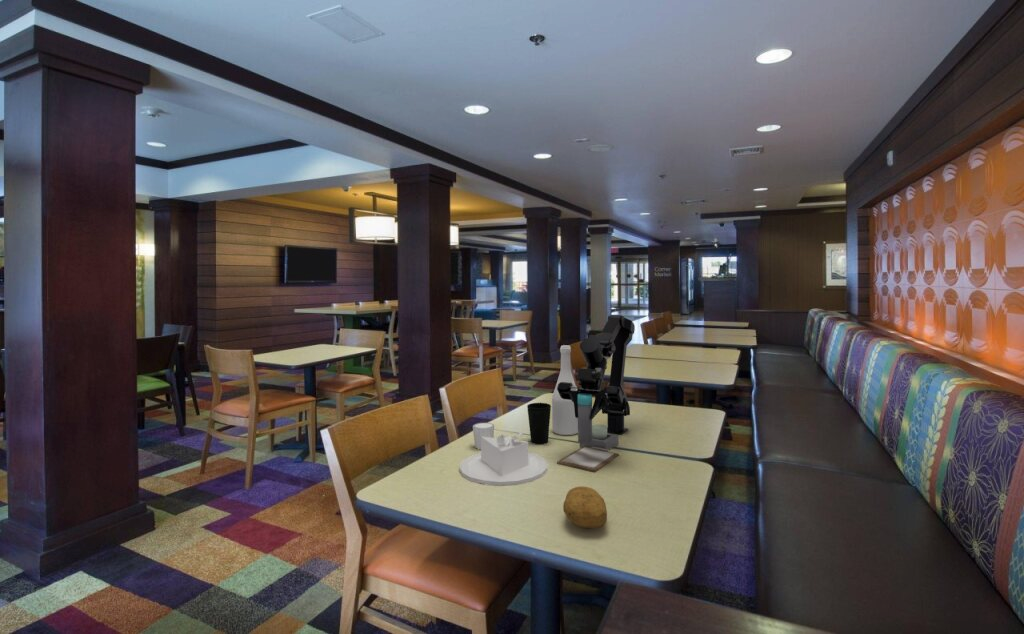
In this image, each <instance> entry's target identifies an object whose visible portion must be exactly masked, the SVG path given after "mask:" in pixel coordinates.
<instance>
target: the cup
mask: <svg viewBox="0 0 1024 634" xmlns="http://www.w3.org/2000/svg"><path fill="white" fill-rule="evenodd" d="M526 407H527V414H528V415H527V417H528V427H529V435H530V443H531V442H532V444H533V443H535V444H534V445H544V443H546V444H547V442H549V434H550V423H551V422H550V419H551V412H552V404H549V403H545V402H532V403H529V404H527V406H526Z"/></svg>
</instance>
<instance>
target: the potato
mask: <svg viewBox="0 0 1024 634" xmlns="http://www.w3.org/2000/svg"><path fill="white" fill-rule="evenodd" d="M562 506H563V508H562V509H563V513H564V514H565V516H566V518H567V519H568V520H569V521H570V522H571V523H572V524H574V525H576V526H578V528H584V529H597V528H601V527H603V526H604V525H605V524H606V523H607V519H608V511H607V505H606V502H605V499H604V497H603V496H602V495H600V493H599V492H597V490H596V489H594V488H592V487H587V486H581V485H580V486H575V487H572V488H571V489H569V490H568V491H567V493H566V495H565V500H564V501H563V505H562Z"/></svg>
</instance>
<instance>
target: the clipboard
mask: <svg viewBox="0 0 1024 634" xmlns="http://www.w3.org/2000/svg"><path fill="white" fill-rule="evenodd" d="M619 456H620V453H619V452H614V451H610V450H609V451H608V449H604V448H599V447H594V446H593V447H591V448H589V447H584V446H583V447H579V448H578V449H576V450H574V451H573V452H572V453H570V454H567V455H566V456H565V457H562V458H560V459H559V460H558V461H557V462H556V464H557V465H560V466H561V465H562V466H566V467H570V468H573V469H574V468H575V469H577V470H578V469H579V470H583V471H587V472H592V473H596V472H598V471H599V470H601V469H602V468H603V467H605V466H606V465H607V464H609V463H610V462H612V461H614V459H616V458H617V457H619Z"/></svg>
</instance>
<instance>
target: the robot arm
mask: <svg viewBox="0 0 1024 634" xmlns="http://www.w3.org/2000/svg"><path fill="white" fill-rule="evenodd" d="M635 328H636V327H635V323H634V322H633V321H632V320H631V319H628V318H626V317H625V315H622V314H611V315H608V317H607V321H606V323H605V324H604V326H603V328H602V330H601V332H600V333H599V334H598V333H597V334H596V335H595V334H594V335H593V334H591V335H590V334H589V335H588V337H586V338H584V339H583V340H582V341H581V342H580V344H579V350H580V351H581V355H582V356H583V359H584V362H586V368H581V367H580V368H578V369H577V374H576V376H577V377H576V380H578V385H579V386H580V387H579V386H577V385H576V386H573V385H572V383H568V382H560V383H559V384H558V387H557V390H558V392H559V394H560V397H561V398H562V399H567V400H572V402H574V409H575V417H576V418H578V394H582V393H587V394H592V397H594V401H593V403H592V410H591V414H590V420H592V421H593V419H594V418H595V417H596V416H597V415H598V414H599V412H600V411H601V413H602V414H603V415H604V414H606V415H607V417H606V418H607V423H606V424H607V425H606V426H607V433H610V434H615V435H622V434H624V433H626V432H627V431H628V430H629V428H627V427H625V417H627V416H630V415H631V407H630V404H629V400H628V398H627V393H626V390H625V388H624V378H625V376H624V375H625V366H626V357H627V349H628V348H627V347H628V345H629V344H630V342H631V341H633V336H634V334H635V331H636V329H635ZM607 358H611V364H610V365H611V367H610V376H609V382H608V383H609V384H608V385H607V386H605V387H604V388H603V389H602V385H604V382H605V381H604V378H605V377H604V376H605V373H606V370H607V368H608V366H607V365H608V360H607Z"/></svg>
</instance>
